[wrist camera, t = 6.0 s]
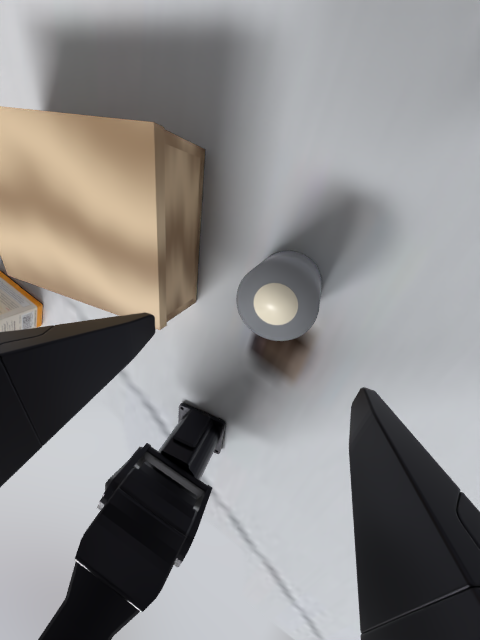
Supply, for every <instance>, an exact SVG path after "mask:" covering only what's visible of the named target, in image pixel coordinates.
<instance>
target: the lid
mask: <svg viewBox="0 0 480 640" xmlns="http://www.w3.org/2000/svg"><path fill="white" fill-rule="evenodd" d="M0 256H1V258H2V261H3V264H4V266H5V269H6V272H7V274H8V276H11V277H14V278H16V279H19V280H22V281H25V282H28V283H30V284H33V285H36V286H39V287H41V288H44V289H47V290H50V291H52V292H55V293H58V294H61V295H64V296H66V297H69V298H72V299H75V300H77V301H80V302H83V303H86V304H89V305H91V306H94V307H97V308H100V309H102V310H105V311H108V312H111V313H114V314H116V315H119V316H123V315H130V314H137V313H144V312H146V313H149V314H152V315H154V317H155V329H158V330H161V329H162V328H164V327H165V326H167V319H166V235H165V151H164V127H162V126H160V125H158V124H156V123H154V122H147V121H137V120H127V119H118V118H108V117H98V116H88V115H79V114H69V113H59V112H49V111H40V110H30V109H20V108H10V107H1V106H0Z"/></svg>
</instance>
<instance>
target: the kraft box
mask: <svg viewBox="0 0 480 640" xmlns="http://www.w3.org/2000/svg"><path fill="white" fill-rule="evenodd" d="M164 151H165V235H166V319H167V322H168V321H169V320H170V319H172V318H173V317H175V316H176V315H178V314H179V313H181V312H182V311H184V310H185V309H187V308H188V307H190V306H191V305H192V304H194V303H195V302H196V294H197V278H198V261H199V244H200V228H201V211H202V194H203V178H204V161H205V149H203V148H201V147H199V146H197V145H195V144H193V143H191V142H189V141H187V140H185V139H183V138H181V137H179V136H177V135H175V134H173V133H171V132H169V131H167V130H165V129H164Z"/></svg>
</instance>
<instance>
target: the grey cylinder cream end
mask: <svg viewBox="0 0 480 640" xmlns="http://www.w3.org/2000/svg"><path fill="white" fill-rule="evenodd" d="M321 285H322V281H321V275H320V272H319V270H318V268H317V266H316V265H315V263H314V262H313V261H312V260H311V259H310V258H309V257H307V256H305V255H304V254H301V253H299V252H295V251H282V252H278V253H275V254H273V255H271V256H270V257H268V258H267V259H266V260H264V261H263V262H262V263H260V264H259V265H258V266H256V267H255V268H254V269H252V270H251V271H250V272H249V273H248V274H247V275H246V276H245V277H244V278H243V279H242V281H241V283H240V285H239V288H238V291H237V298H236V299H237V308H238V311H239V314H240V316H241V318H242V320H243V321H244V323H245V324H246V325H247V326H248V327H249V329H251V330H252V331H253V332H254V333H256V334H257V335H259V336H261V337H263V338H266V339H270V340H275V341H286V340H291V339H294V338H297V337H299V336H301V335H303V334H304V333H305V332H307V331H308V330H309V329H310V328H311V326H312V325H313V324H314V322H315V320H316V318H317V315H318V311H319V303H320V294H321Z"/></svg>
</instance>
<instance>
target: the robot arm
mask: <svg viewBox="0 0 480 640" xmlns="http://www.w3.org/2000/svg"><path fill="white" fill-rule="evenodd" d="M154 334H155V317H154V315H152V314H149V313H146V312H144V313H137V314H130V315H123V316H116V317H109V318H102V319H95V320H88V321H81V322H74V323H67V324H60V325H55V326H46V327H38V328H31V329H23V330H14V331H5V332H0V487H1V486H2V485H3V484H4V483H5V482H6V481H7V480H8V479H9V478H10V477H11V476H12V475H13V474H15V472H17V471H18V470H19V469H20V468H21V467H22V466H23V465H24V464H25V463H26V462H27V461H28V460H29V459H30V458H31V457H32V456H33V455H34V454H35V453H36V452H37V451H38V450H39V449H40V448H41V447H42V446H43V445H44V444H45V443H47V441H48V440H50V439H51V438H52V437H53V436H54V435H55V434H56V433H57V432H58V431H59V430H60V429H61V428H62V427H63V426H64V425H65V424H66V423H67V422H68V421H69V420H70V419H71V418H73V416H75V415H76V414H77V413H78V412H79V411H80V410H81V409H82V408H83V407H84V406H85V405H86V404H87V403H88V402H89V401H90V400H91V399H92V398H93V397H94V396H95V395H96V394H97V393H99V392H100V391H101V390H102V389H103V388H104V387H105V386H106V385H107V384H108V383H109V382H110V381H111V380H112V379H113V378H114V377H115V376H116V375H117V374H118V373H119V372H120V371H121V370H122V369H124V368H125V367H126V366H127V365H128V364H129V363H130V362H131V361H132V360H133V359H134V358H135V356H136V355H137V354H138V353H139V352H140V351H141V349H142V348H143V347H144V346H145V345H146V344H147V342H148V341H149V340H150V339H151V338H152V337H153V335H154ZM225 426H226V423H225V422H224V421H223V420H220V419H218V418H216V417H213V416H211V415H209V414H207V413H204V412H202V411H200V410H198V409H195V408H193V407H191V406H188V405H186V404H184V403H181V404H180V406H179V421H178V424H177V426H176V427H175V429H174V430H173V431H172V433H171V434H170V436H169V437H168V438H167V440H166V441H165V443H164V444H163V445H162V447H161V448H160V450H159V451H157V450H155V449H154V448H152V447H151V445H150V444H148V443H147V444H146V445H145V446H144V447H139V448H138V450H137V451H136V452H135V453H134V454H133V456H132V457H131V458H130V459H129V460H128V461H127V462H126V463H125V464H124V465H123V466H122V467H121V468H120V469H119V470H118V471H117V472H116V473H115V474H114V475H113V476H112V477H111V478H110V479H109V480H108V481H107V482H106V484H105V492H104V494H103V496H102V499H101V500H100V502H99V504H98V507H97V508H99V509H100V510H101V511H100V512H99V514H98V515H97V516H96V518H95V519H94V521H93V522H92V523H91V525H90V526H89V528H88V529H87V531H86V532H85V534H84V536H83V538H82V539H81V542H80V545H79V548H78V551H77V554H76V557H75V561H76V563H75V567H74V571H73V574H72V577H71V581H70V585H69V588H68V592H67V596H66V598H65V600H64V602H63V603H62V605H61V606H60V608H59V609H58V611H57V612H56V614H55V615H54V617H53V618H52V620H51V621H50V623H49V624H48V626H47V627H46V629H45V631H44V632H43V633H42V635H41V636H40V638H39V639H38V640H111V639H112V637H113V636H114V635H115V634H116V633H117V632H118V631H119V630H120V629H121V628H122V627H123V626H125V625H126V624H127V623H128V622H129V621H130V620H131V619H132V618H133V617H135V616H136V615H137V614H138V613H139V612H143V611H144V610H145V609H146V608H147V607H148V606H149V605H150V604H151V603H152V602H153V601H154V600H155V599H156V597H157V596H158V594H159V593H160V591H161V589H162V588H163V586H164V584H165V581H166V579H167V577H168V575H169V573H170V571H171V569H172V567H173V565H175V566H177V567H179V565H180V564H181V563H182V561H183V559H184V558H185V556H186V554H187V552H188V550H189V548H190V546H191V544H192V542H193V539H194V537H195V534H196V532H197V530H198V527H199V524H200V521H201V518H202V516H203V513H204V510H205V507H206V504H207V502H208V499H209V496H210V493H211V490H212V487H210V486H209V485H208V486H207V485H206V484H204V483H203V482H201V481H200V479H201V477H202V475H203V473H204V471H205V469H206V466H207V464H208V462H209V460H210V458H211V456H212V454H213V452H214V453H217V454H219V453H220V451H221V448H222V442H223V437H224V432H225ZM349 458H350V474H351V489H352V505H353V520H354V536H355V552H356V567H357V583H358V598H359V614H360V630H361V633H362V634H361V640H480V512H479V510H478V509H477V508H476V507H475V506H474V505H473V504H472V502H471V501H470V500H469V499H468V498H467V497H466V495H465V494H464V493H463V492H460V489H459V487H458V486H457V485H456V484H455V483H454V482H453V481H452V479H451V478H450V477H449V476H448V475H447V474H446V472H445V471H444V470H443V469H442V468H441V467H440V466H439V464H438V463H437V462H436V461H435V460H434V459H433V457H432V456H431V455H430V454H429V453H428V452H427V451H426V449H425V448H424V447H423V446H422V445H421V444H420V442H419V441H418V440H417V439H416V438H415V437H414V436H413V434H412V433H411V432H410V431H409V430H408V429H407V427H406V426H405V425H404V424H403V423H402V422H401V421H400V419H399V418H398V417H397V416H396V415H395V414H394V412H393V411H392V410H391V409H390V408H389V407H388V405H387V404H386V403H385V402H384V401H383V400H382V399H381V397H380V396H379V395H378V394H377V393H376V392H375V391H374V390H371V389H368V388H365V387H363V388H361V389H360V391H359V392H358V394H357V396H356V398H355V399H354V401H353V403H352V406H351V419H350V436H349Z"/></svg>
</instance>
